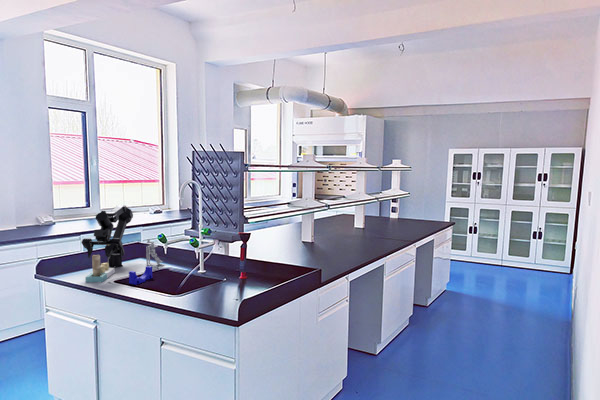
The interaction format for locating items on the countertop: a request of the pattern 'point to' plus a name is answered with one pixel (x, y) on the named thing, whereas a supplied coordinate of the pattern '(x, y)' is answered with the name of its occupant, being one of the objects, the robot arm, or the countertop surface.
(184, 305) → the countertop surface
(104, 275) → the pin board
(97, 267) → the birch pin
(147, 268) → the blue saddle block
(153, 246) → the clamp
